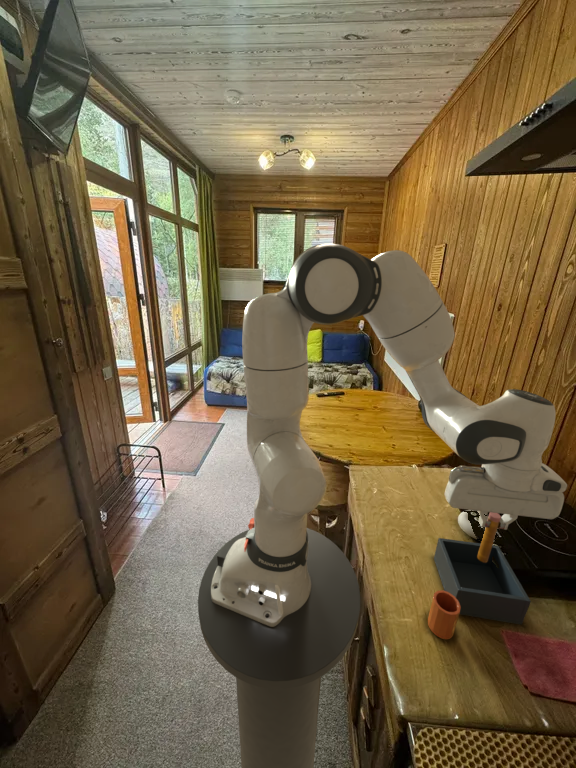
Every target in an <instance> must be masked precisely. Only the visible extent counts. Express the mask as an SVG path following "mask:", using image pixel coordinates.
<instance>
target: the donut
mask: <svg viewBox="0 0 576 768" xmlns="http://www.w3.org/2000/svg"><path fill="white" fill-rule="evenodd" d="M457 523H458V525H459V528H460V529H461V530H462V532H463V533H465V534H466V535H467V536H469V537H470V538H472V539H475V540H477V538H476V536H475V534H474V532H473V529H472V526H471V523H470V521H469V520H468V513H467V512H464V511H462V512H461V513H460V514H459V515H458V516H457Z"/></svg>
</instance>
